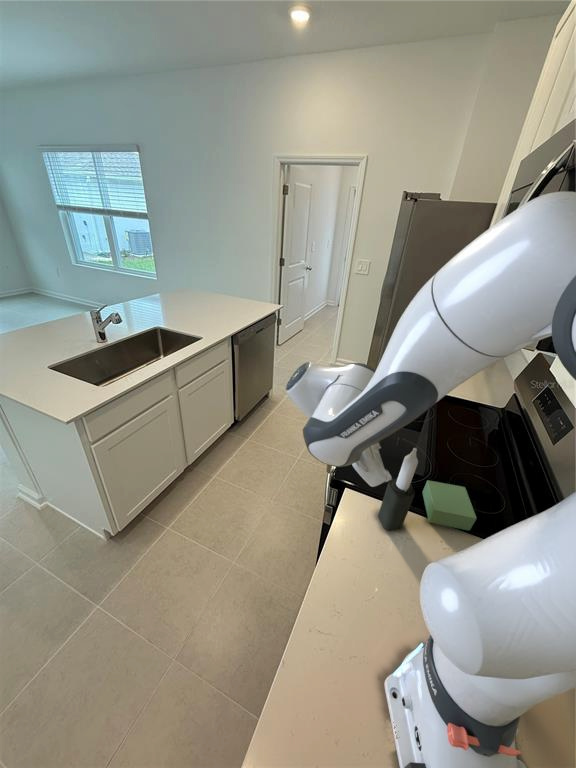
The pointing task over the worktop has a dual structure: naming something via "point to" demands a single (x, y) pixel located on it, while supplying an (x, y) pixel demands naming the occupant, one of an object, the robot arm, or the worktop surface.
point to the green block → (448, 505)
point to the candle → (399, 495)
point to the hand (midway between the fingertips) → (382, 461)
